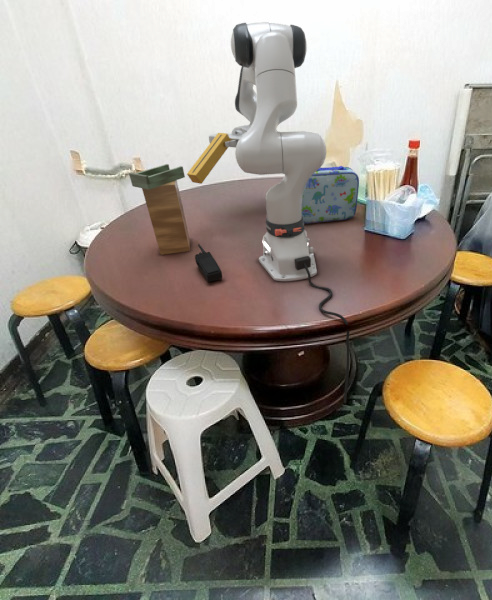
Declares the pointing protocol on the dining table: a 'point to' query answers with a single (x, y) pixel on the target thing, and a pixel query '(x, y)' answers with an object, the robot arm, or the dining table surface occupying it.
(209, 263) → the walkie-talkie
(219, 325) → the dining table surface
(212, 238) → the dining table surface
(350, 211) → the lunch box
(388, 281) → the dining table surface
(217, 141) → the pencil case
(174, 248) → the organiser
